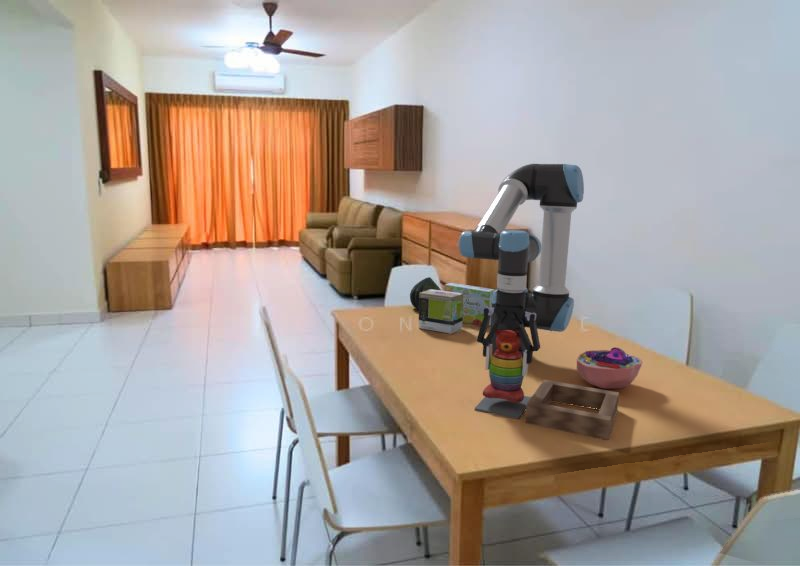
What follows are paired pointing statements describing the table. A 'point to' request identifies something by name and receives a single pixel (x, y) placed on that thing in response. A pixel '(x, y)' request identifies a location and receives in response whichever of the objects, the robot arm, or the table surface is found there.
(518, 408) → the rubber mat
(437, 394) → the table surface
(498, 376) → the stacking bear
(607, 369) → the cell model
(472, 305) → the snack box
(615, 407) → the square wooden frame
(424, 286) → the squash
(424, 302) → the tea box
